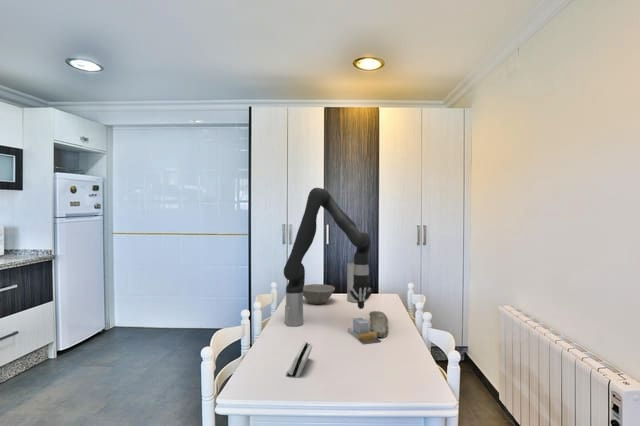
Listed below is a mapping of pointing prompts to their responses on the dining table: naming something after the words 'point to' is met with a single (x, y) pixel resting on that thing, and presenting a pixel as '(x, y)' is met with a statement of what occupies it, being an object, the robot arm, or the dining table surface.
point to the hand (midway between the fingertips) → (360, 308)
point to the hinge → (300, 360)
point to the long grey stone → (378, 323)
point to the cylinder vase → (350, 282)
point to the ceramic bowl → (317, 293)
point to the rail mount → (365, 337)
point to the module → (360, 325)
